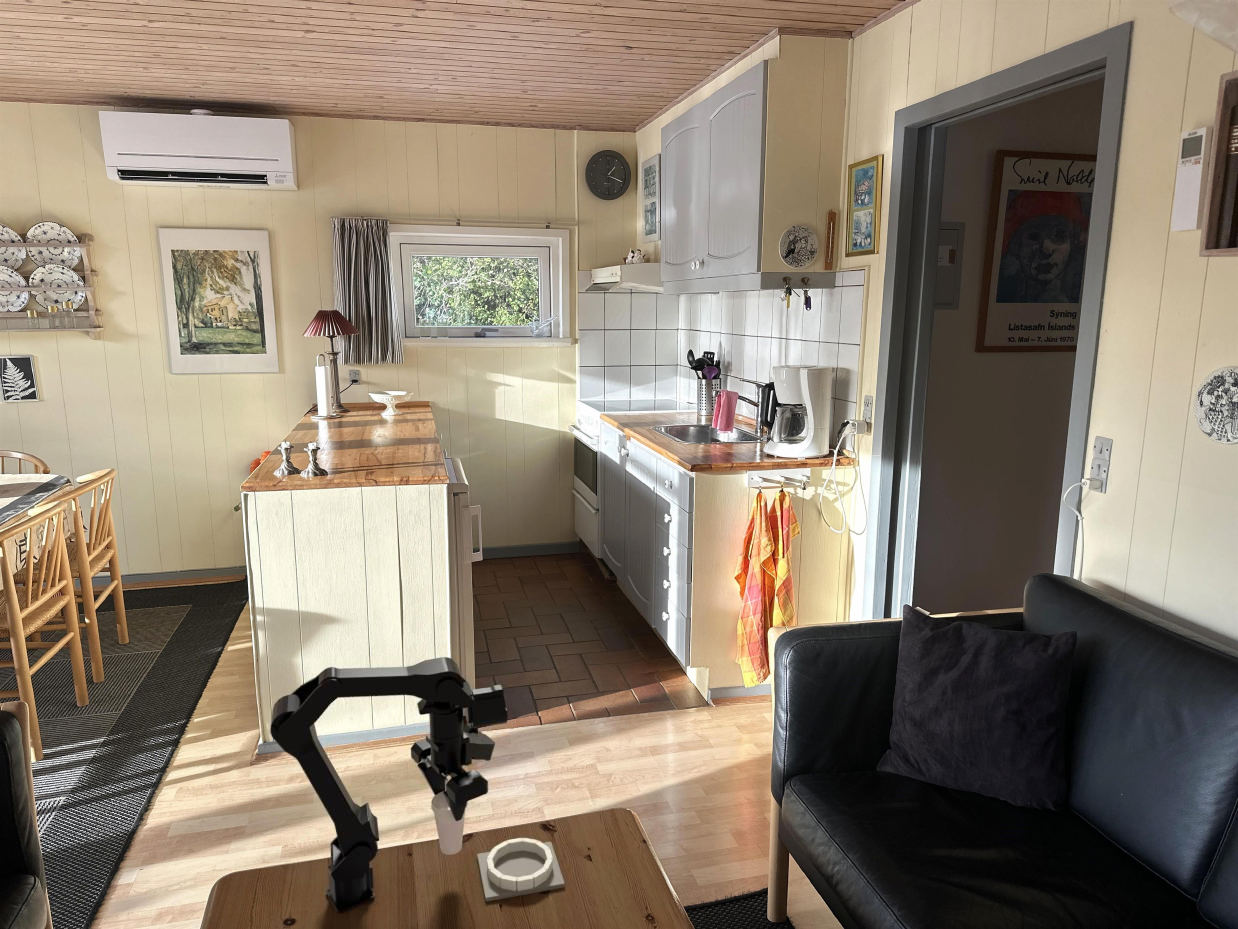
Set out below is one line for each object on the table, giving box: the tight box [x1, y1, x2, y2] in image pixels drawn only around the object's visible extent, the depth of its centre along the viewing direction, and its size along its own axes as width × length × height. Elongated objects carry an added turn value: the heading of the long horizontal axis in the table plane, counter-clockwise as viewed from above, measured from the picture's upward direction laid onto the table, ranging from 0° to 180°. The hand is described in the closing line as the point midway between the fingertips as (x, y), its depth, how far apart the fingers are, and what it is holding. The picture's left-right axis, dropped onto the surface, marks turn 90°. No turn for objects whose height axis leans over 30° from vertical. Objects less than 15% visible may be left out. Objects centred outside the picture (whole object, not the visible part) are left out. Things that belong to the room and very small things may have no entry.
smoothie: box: [430, 778, 469, 856], centre depth 153 cm, size 6×6×14 cm
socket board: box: [476, 837, 566, 902], centre depth 156 cm, size 14×12×3 cm
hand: (449, 810), depth 153 cm, fingers closed on smoothie, 6 cm apart
